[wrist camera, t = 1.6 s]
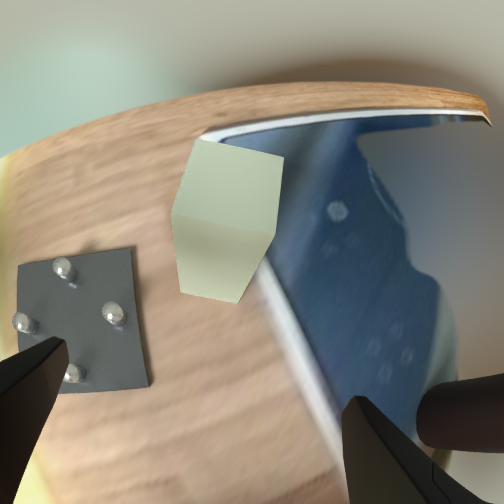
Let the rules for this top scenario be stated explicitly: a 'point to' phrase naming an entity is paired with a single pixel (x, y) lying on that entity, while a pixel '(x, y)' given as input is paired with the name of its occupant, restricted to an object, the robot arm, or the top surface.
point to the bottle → (464, 415)
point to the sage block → (224, 218)
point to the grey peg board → (85, 318)
